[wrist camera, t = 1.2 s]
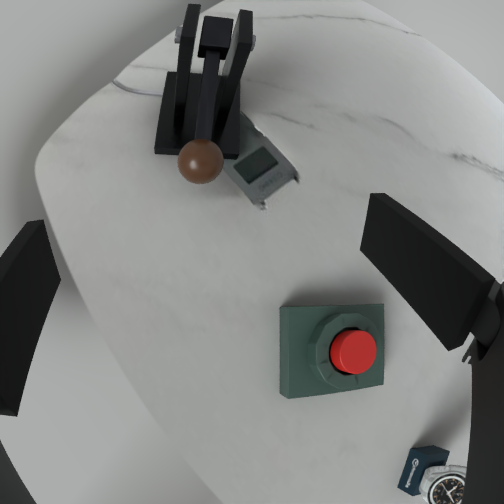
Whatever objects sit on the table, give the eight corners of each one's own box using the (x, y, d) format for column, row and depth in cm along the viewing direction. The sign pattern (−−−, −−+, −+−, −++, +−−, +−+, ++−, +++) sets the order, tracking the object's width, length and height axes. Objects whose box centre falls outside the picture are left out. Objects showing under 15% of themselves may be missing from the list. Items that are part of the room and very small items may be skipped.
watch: (398, 449, 29) (465, 478, 18) (441, 444, 30) (504, 462, 20) (385, 490, 27) (445, 525, 17) (429, 480, 29) (487, 505, 18)
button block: (279, 393, 27) (295, 404, 23) (279, 307, 29) (295, 305, 25) (371, 381, 30) (394, 387, 26) (371, 305, 31) (395, 302, 27)
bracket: (236, 160, 31) (275, 74, 19) (154, 154, 29) (151, 61, 17) (238, 84, 33) (270, -3, 21) (167, 77, 31) (174, -14, 19)
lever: (218, 186, 24) (224, 184, 21) (175, 183, 23) (175, 181, 20) (233, 35, 22) (241, 17, 19) (195, 31, 21) (198, 11, 18)
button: (329, 373, 25) (339, 376, 23) (329, 331, 26) (339, 331, 24) (365, 368, 26) (376, 371, 24) (365, 328, 27) (377, 328, 25)
